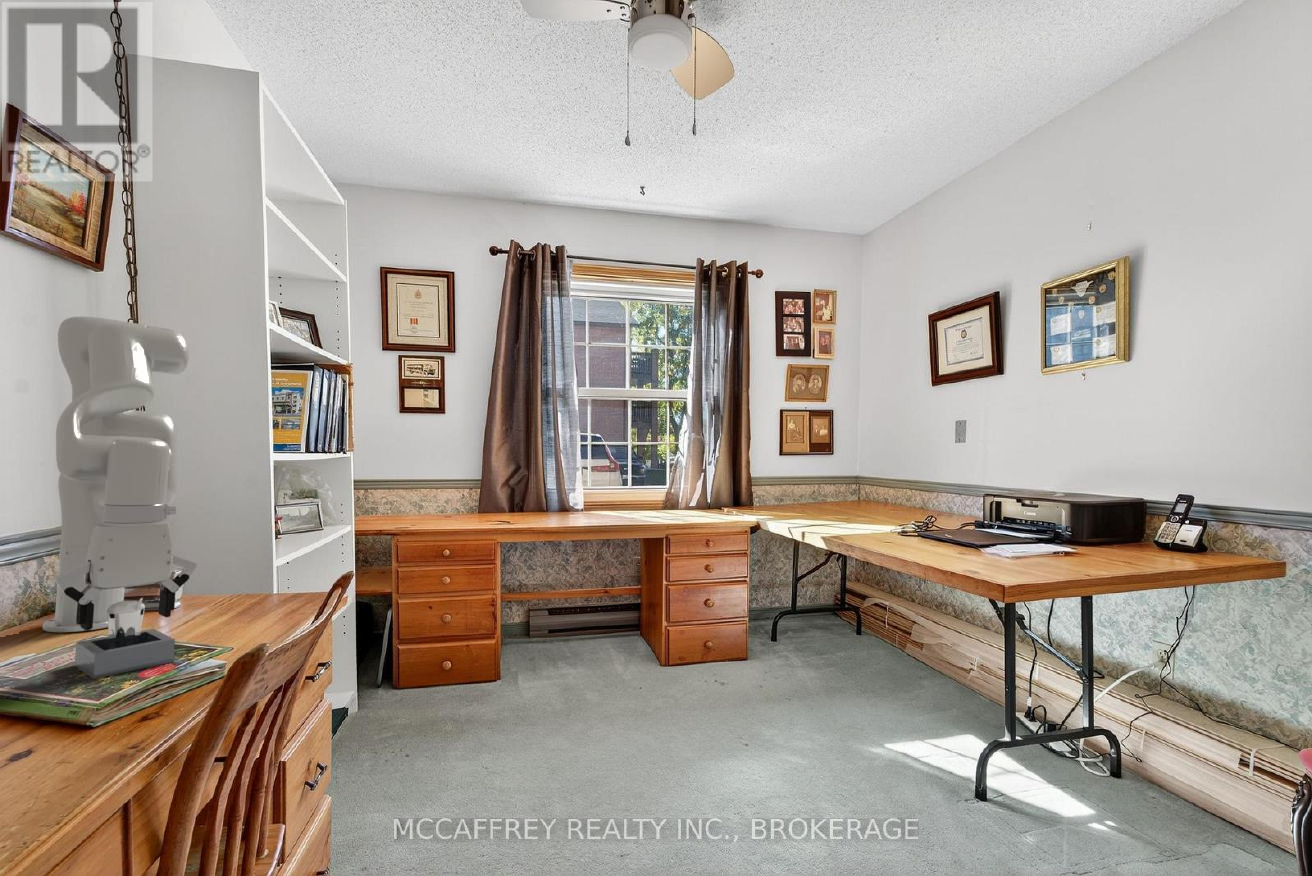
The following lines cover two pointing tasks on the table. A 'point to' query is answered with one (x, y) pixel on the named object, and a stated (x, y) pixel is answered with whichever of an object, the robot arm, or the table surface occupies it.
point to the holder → (123, 654)
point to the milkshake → (125, 623)
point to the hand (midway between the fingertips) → (126, 621)
